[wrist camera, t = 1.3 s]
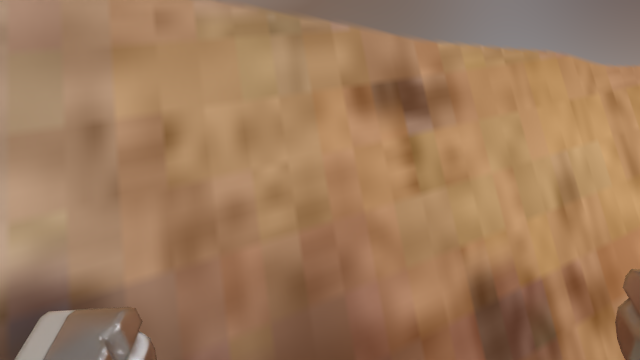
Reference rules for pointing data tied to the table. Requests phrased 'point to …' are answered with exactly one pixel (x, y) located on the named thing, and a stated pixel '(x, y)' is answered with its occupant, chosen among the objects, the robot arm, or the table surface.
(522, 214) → the table surface
